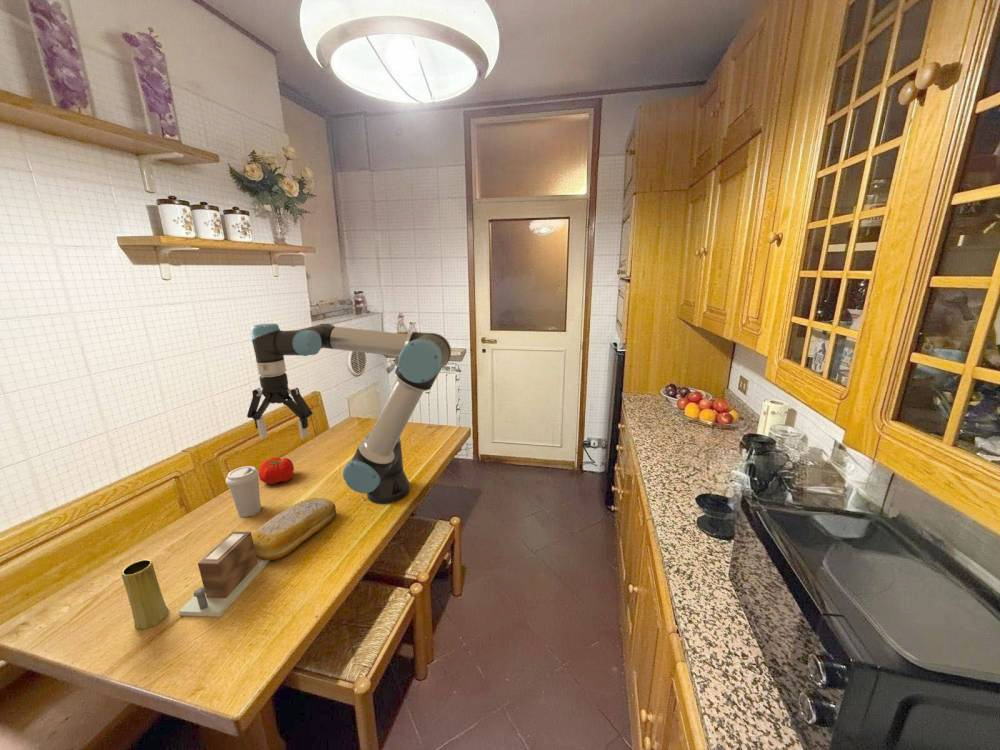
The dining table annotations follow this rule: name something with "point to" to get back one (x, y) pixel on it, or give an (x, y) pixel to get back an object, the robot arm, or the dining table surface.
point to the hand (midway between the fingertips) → (284, 437)
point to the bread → (292, 527)
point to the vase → (144, 594)
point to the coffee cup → (245, 490)
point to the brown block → (228, 564)
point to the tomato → (276, 470)
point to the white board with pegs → (218, 605)
